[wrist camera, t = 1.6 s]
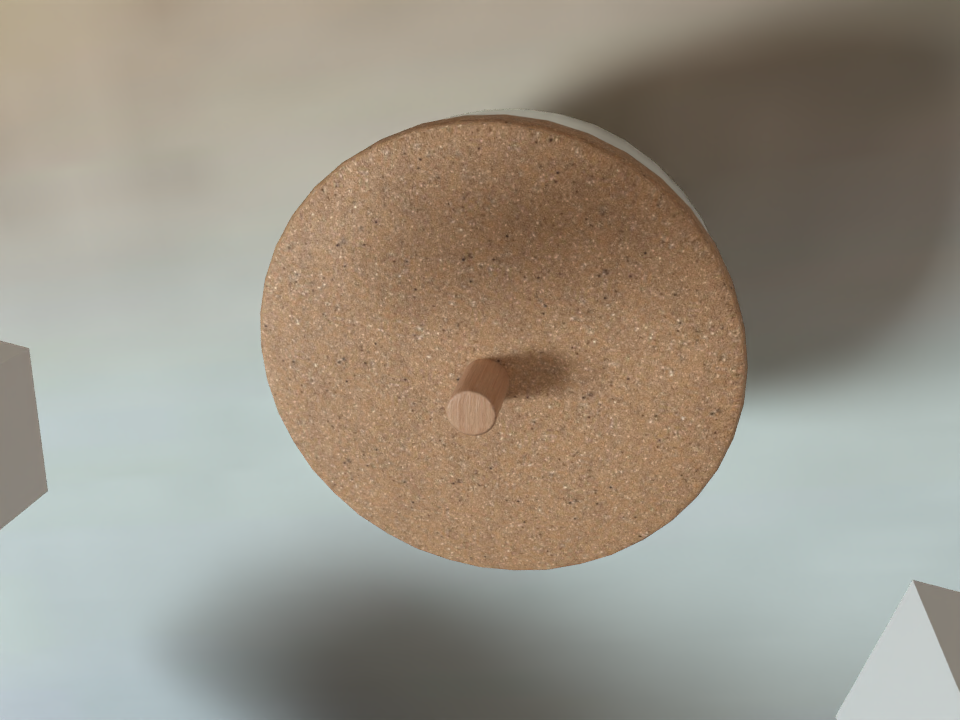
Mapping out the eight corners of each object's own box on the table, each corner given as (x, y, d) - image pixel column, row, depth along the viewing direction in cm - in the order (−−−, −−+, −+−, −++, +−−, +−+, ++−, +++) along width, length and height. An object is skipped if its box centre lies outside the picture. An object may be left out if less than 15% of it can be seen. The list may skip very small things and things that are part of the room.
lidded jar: (751, 91, 20) (816, 155, 12) (691, 439, 25) (708, 661, 16) (363, 71, 22) (185, 115, 14) (375, 399, 27) (247, 580, 18)
